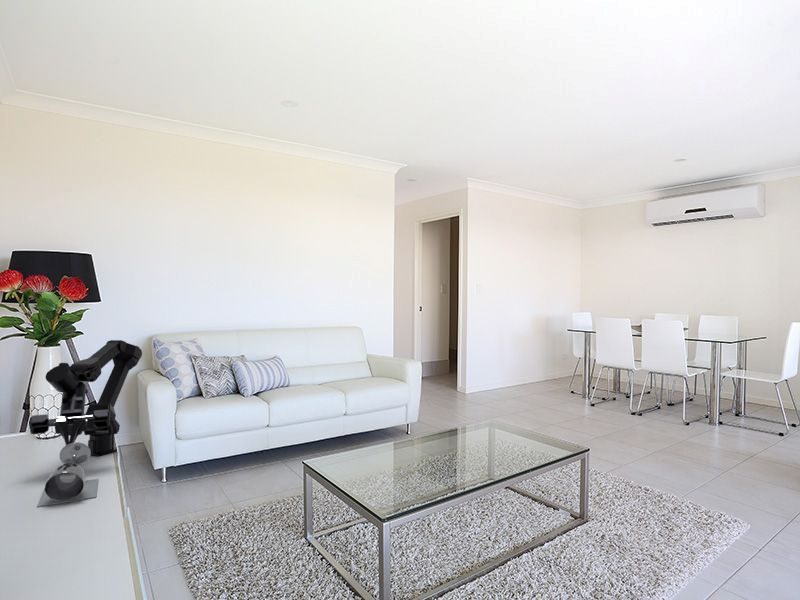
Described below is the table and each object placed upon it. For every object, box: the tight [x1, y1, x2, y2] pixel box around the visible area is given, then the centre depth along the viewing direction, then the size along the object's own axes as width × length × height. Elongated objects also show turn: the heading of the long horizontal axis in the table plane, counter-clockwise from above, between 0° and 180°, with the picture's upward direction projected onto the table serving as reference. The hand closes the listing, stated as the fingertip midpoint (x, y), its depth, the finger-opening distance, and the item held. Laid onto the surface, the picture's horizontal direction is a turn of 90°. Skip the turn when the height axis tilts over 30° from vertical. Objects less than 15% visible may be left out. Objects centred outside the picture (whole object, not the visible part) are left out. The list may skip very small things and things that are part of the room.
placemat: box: [36, 478, 99, 508], centre depth 124 cm, size 14×12×1 cm
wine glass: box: [44, 441, 91, 501], centre depth 123 cm, size 8×8×15 cm
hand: (68, 448), depth 131 cm, fingers closed
